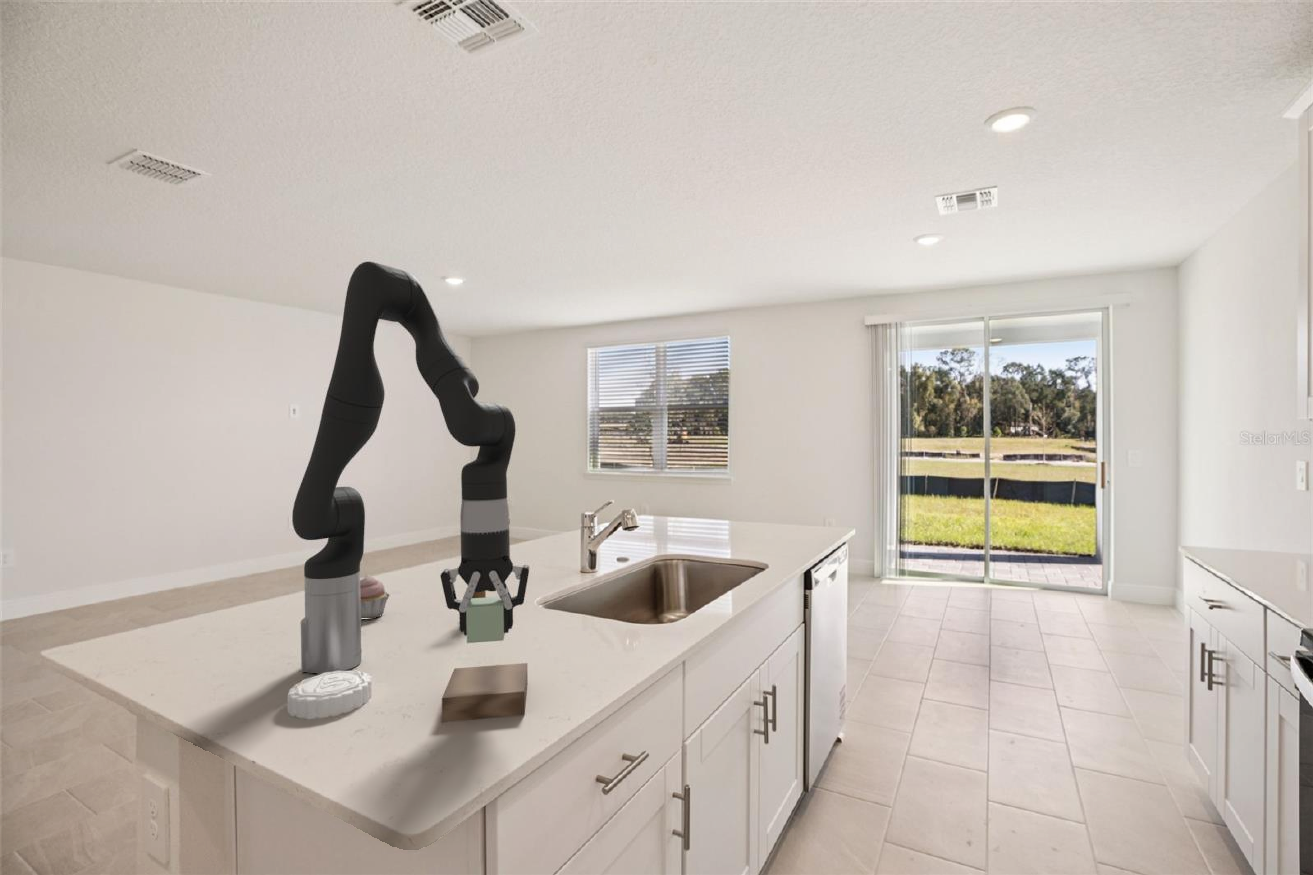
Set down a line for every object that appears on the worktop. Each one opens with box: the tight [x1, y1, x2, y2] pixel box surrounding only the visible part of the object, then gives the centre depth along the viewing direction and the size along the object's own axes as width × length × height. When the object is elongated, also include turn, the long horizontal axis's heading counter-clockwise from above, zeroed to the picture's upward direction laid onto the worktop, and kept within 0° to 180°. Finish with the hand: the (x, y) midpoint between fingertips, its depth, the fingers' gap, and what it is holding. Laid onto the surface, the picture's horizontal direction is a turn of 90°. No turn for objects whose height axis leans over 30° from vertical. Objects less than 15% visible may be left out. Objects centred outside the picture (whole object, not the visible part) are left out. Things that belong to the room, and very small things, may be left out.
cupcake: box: [360, 574, 391, 619], centre depth 148 cm, size 9×9×10 cm
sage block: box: [466, 596, 506, 644], centre depth 99 cm, size 6×6×6 cm
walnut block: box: [441, 662, 529, 723], centre depth 99 cm, size 12×12×4 cm
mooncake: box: [287, 670, 373, 720], centre depth 100 cm, size 12×12×4 cm
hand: (487, 632), depth 99 cm, fingers closed on sage block, 5 cm apart
